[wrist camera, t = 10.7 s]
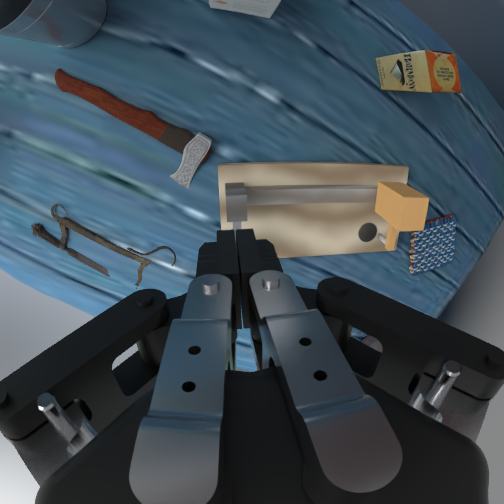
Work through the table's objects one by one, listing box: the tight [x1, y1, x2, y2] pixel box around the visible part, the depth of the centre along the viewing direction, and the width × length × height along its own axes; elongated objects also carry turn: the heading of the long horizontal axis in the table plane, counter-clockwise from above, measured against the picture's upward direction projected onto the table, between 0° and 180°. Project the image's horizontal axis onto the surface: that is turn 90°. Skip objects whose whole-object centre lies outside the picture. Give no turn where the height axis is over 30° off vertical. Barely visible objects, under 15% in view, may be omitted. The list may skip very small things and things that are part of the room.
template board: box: [218, 162, 409, 258], centre depth 41 cm, size 14×28×7 cm, turn 91°
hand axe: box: [55, 69, 212, 189], centre depth 36 cm, size 27×2×10 cm
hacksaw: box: [31, 204, 176, 289], centre depth 42 cm, size 24×10×2 cm, turn 55°
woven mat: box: [409, 214, 456, 276], centre depth 48 cm, size 10×11×2 cm
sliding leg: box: [375, 181, 429, 251], centre depth 38 cm, size 9×4×8 cm, turn 1°
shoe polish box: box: [376, 50, 461, 93], centre depth 30 cm, size 5×5×12 cm
